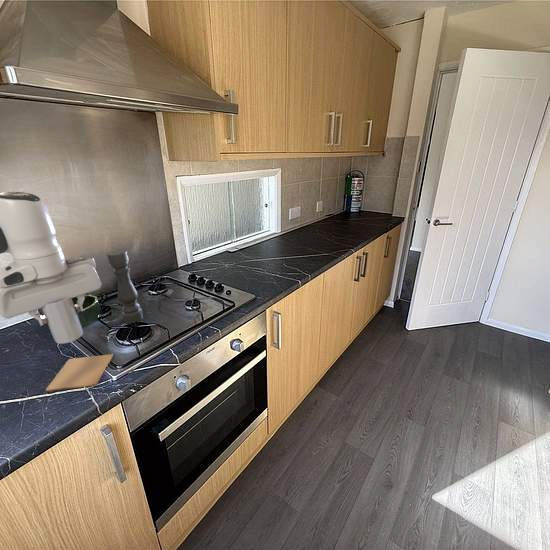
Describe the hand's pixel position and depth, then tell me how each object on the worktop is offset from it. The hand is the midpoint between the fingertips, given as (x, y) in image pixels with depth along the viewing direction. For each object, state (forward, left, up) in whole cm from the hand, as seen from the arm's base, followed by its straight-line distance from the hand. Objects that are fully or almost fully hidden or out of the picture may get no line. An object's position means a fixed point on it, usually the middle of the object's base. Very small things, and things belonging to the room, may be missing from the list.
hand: (62, 317), depth 72 cm
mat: (0, 0, -17) cm, 17 cm away
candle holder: (+6, +26, -17) cm, 32 cm away
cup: (0, 0, -6) cm, 6 cm away
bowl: (-14, +30, -17) cm, 37 cm away
